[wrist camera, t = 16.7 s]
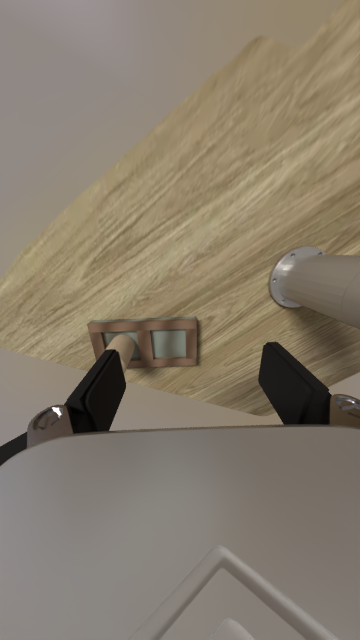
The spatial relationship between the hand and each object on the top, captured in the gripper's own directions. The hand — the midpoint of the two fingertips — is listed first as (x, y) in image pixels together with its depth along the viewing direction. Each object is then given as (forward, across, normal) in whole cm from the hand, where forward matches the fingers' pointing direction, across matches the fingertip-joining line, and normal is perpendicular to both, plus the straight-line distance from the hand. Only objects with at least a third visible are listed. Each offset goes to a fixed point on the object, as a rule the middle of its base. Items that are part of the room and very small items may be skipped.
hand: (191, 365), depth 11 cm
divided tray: (+27, +10, +13) cm, 31 cm away
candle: (+26, +15, +13) cm, 32 cm away
